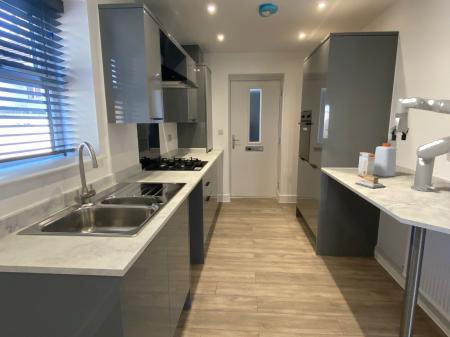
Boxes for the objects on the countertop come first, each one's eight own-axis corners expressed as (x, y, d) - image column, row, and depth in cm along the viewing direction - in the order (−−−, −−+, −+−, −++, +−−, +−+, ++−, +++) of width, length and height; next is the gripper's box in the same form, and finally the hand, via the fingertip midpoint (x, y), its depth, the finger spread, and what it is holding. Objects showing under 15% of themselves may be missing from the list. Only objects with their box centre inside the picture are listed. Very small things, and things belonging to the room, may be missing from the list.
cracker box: (372, 179, 212) (375, 154, 208) (365, 179, 212) (368, 154, 208) (364, 175, 226) (366, 152, 222) (357, 175, 226) (359, 152, 222)
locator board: (385, 187, 186) (386, 183, 186) (371, 188, 182) (372, 185, 182) (368, 182, 200) (368, 179, 200) (355, 184, 196) (355, 180, 196)
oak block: (367, 182, 196) (368, 175, 195) (377, 185, 188) (378, 177, 187) (362, 183, 194) (363, 175, 193) (373, 185, 186) (373, 177, 185)
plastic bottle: (383, 177, 219) (387, 144, 214) (369, 174, 234) (372, 143, 229) (397, 176, 223) (401, 144, 218) (382, 173, 238) (386, 142, 232)
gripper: (405, 116, 189) (402, 139, 192) (387, 116, 184) (384, 140, 187) (415, 116, 182) (412, 140, 185) (397, 116, 177) (394, 141, 180)
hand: (398, 140), depth 186 cm, fingers open, 9 cm apart
